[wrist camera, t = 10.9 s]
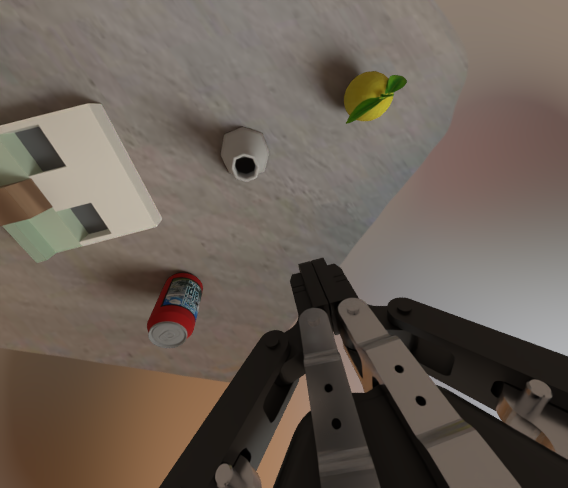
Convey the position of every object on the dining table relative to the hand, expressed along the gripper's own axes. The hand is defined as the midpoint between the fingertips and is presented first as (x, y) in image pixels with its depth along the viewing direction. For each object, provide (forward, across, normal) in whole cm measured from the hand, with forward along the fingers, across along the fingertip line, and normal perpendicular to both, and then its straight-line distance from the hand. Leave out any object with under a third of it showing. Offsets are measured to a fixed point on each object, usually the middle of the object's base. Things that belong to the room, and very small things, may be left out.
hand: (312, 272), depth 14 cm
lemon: (+27, -14, -7) cm, 31 cm away
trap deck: (+27, +27, -5) cm, 38 cm away
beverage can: (+27, +21, +17) cm, 38 cm away
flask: (+27, +3, -3) cm, 28 cm away
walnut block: (+24, +32, -5) cm, 41 cm away
